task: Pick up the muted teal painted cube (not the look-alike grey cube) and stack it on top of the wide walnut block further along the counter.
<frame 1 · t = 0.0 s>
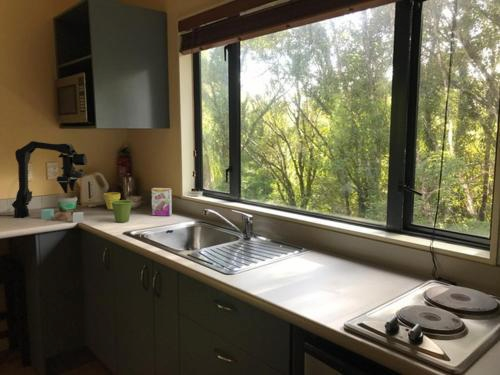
hand: (69, 192, 247), 15 cm above the worktop, fingers open, 9 cm apart
food container: (70, 214, 257), on the worktop
plant pot: (112, 208, 276), on the worktop
grey cube: (78, 222, 236), on the worktop
candy bar box: (161, 215, 255), on the worktop
teal cube: (47, 218, 245), on the worktop
plant pot 2: (122, 221, 237), on the worktop
walnut block: (62, 220, 241), on the worktop
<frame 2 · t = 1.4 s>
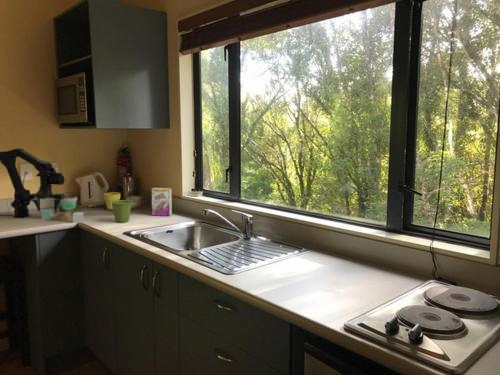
hand: (47, 211, 244), 4 cm above the worktop, fingers open, 9 cm apart
nothing on the worktop moved.
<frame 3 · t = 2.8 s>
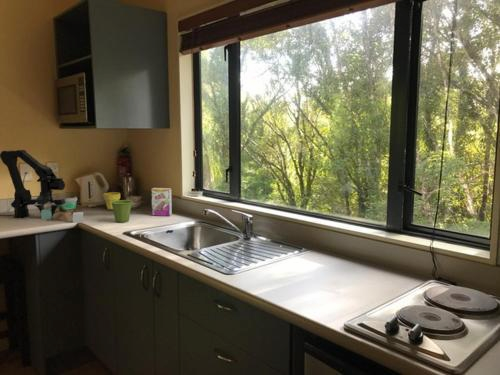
hand: (47, 216, 245), 1 cm above the worktop, fingers closed on teal cube, 5 cm apart
teal cube: (47, 218, 245), on the worktop, touching gripper
everything else where it was.
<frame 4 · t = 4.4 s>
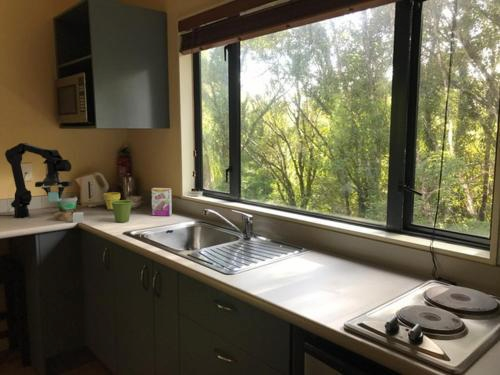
hand: (54, 198, 241), 12 cm above the worktop, fingers closed on teal cube, 5 cm apart
teal cube: (54, 200, 242), point 11 cm above the worktop, touching gripper
everything else where it was.
when the fingers open (6 cm above the worktop, at t = 6.3 s): teal cube drops 2 cm, resting on walnut block.
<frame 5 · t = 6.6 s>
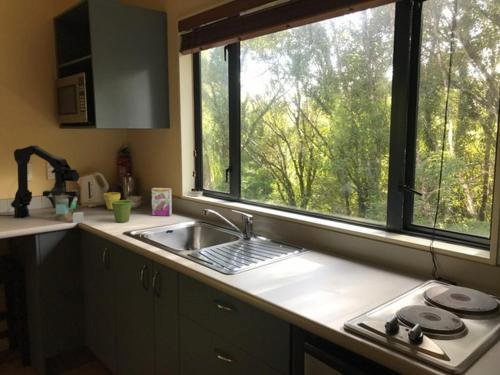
hand: (62, 208, 240), 6 cm above the worktop, fingers open, 8 cm apart
teal cube: (62, 213, 241), point 4 cm above the worktop, touching walnut block
walnut block: (62, 220, 241), on the worktop, touching teal cube
everything else where it was.
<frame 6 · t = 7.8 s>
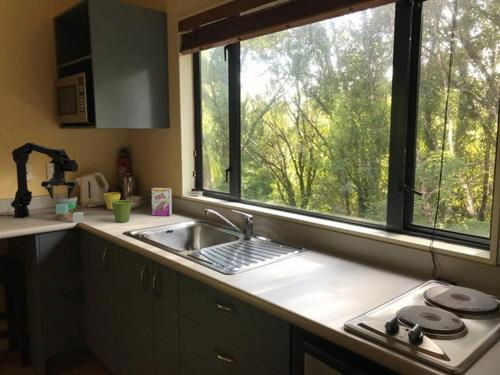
hand: (60, 198, 240), 12 cm above the worktop, fingers open, 9 cm apart
nothing on the worktop moved.
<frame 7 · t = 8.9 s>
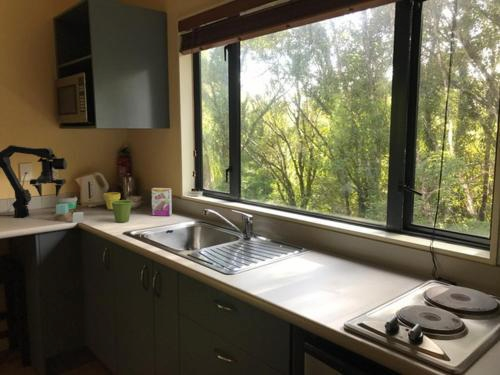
hand: (48, 196, 248), 12 cm above the worktop, fingers open, 9 cm apart
nothing on the worktop moved.
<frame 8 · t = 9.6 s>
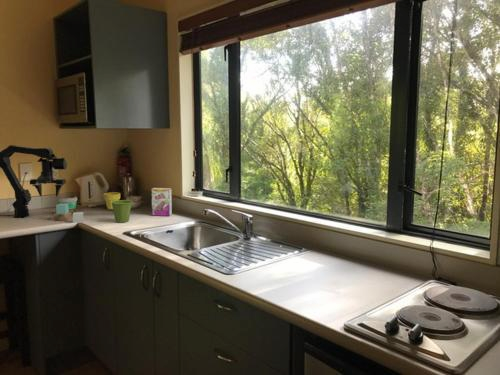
hand: (48, 196, 248), 12 cm above the worktop, fingers open, 9 cm apart
nothing on the worktop moved.
at the end: teal cube 0.3 cm off-centre on the walnut block, point 4.0 cm above the walnut block's base; teal cube tilted 0°; the gripper is holding nothing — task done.
